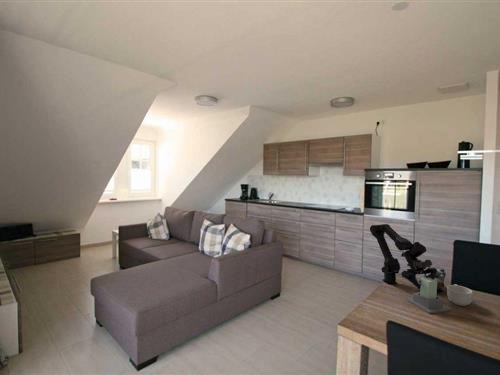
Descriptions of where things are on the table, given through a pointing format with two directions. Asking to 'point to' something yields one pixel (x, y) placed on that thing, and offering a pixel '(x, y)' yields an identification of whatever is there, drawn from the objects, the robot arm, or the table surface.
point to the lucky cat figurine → (438, 279)
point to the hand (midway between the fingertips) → (427, 288)
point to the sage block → (428, 288)
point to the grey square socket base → (428, 304)
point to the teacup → (459, 295)
